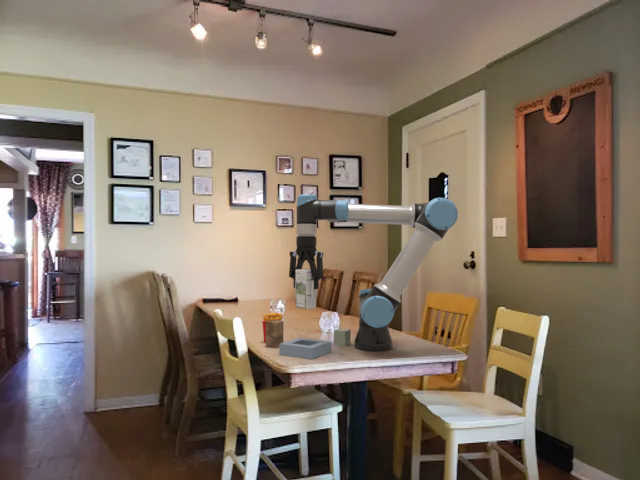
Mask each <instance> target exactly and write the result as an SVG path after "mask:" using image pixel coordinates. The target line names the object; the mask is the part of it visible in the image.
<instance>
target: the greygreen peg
mask: <svg viewBox="0 0 640 480" xmlns="http://www.w3.org/2000/svg"><path fill="white" fill-rule="evenodd" d="M351 331H352V330H351V329H349V328H337V329H334V330H333V345H334V346H339V347H340V346H341V347H347V346H350V345H351V334H352V333H351Z"/></svg>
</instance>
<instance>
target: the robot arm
mask: <svg viewBox="0 0 640 480" xmlns="http://www.w3.org/2000/svg"><path fill="white" fill-rule="evenodd" d="M458 217H459V211H458V208H457V205H456V204H455V202H453V201H452V200H450V199H448V198H444V197H435V198H433V199H431V200H430V201H427V202H424V203H412V204H411V205H393V204H391V205H389V204H387V205H386V204H364V203H363V204H362V203H349V201H348V200H344V199H343V200H342V199H329V200H328V199H324V200H323V199H318V197H317V195H316V194H312V193H303V194H299V195H298V196H297V198H296V235H297V236H296V242H295V243H296V248H295V249H296V250H294V251H289V256H290V257H289V258H290V259H289V260H290V261H289V269H288V270H289V272H288V277H289V278H291V279H292V280H293V289H294V297H295V298H296V270H297V269H303V266H304V263H305V261H306V262H307V263H308V265H309V269H311V273H312V276H313V279H312V281H311V298H316V299H317V295H318V293H317V291H318V289H319V283H320V282H319V281H320V280H322V279H324V264H323V263H324V262H323V259H324V258H323V257H324V251H318V250H317V236H316V235H317V221H328V222H329V223H357V224H375V225H396V226H397V225H401V226H409V227H410V228H411V229H413V228H414V231H412V234H411V235H410V237H409V238H408V240H407V242H406V243H405V244H404V246H403V248H402V250H401V251H400V252H399V254H398V255H397V256H396V259H395V260H394V261H393V263H392V264H391V266H390V267H389V269H388V270H387V272H386V274H385V275H384V277H383V278H382V280H381V282H378V283H375V284H374V285H373V286H372V288H366V289H365V288H364V289H360V290H359V292H358V293H359V295H358V299H359V300H358V301H359V302H358V304H359V307H358V330H357V333H356V336H355V338H354V348H356V349H357V350H358V349H359V350H363V351H371V352H375V351H378V352H379V351H380V352H381V351H388V350H392V349H393V347H394V346H393V343H394V342H393V339H392V336H391V332H390V328H389V324H390V323H391V322H392V320H393V318H394V315H395V312H396V310H397V309H398V307H399V305H401V303H402V301H401V295H402V293H403V292H404V291H405V289H406V288H407V286H408V284H409V283H410V281H411V279H412V278H413V277H414V275H416V274H415V273H416V272H418V271H417V270H418V269H419V268H420V266H421V264H423V261H424V260H425V258H426V257H427V255H428V253H429V252H430V251H431V250H432V248H433V246H434V245H435V243H436V242H439V241H442V240H443V238H444V237H445V236H446V234H447V232H448V231H449V229H451V228H452V227H453V226H455V224H456V223H457V221H458ZM315 257H316V259H315Z"/></svg>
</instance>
